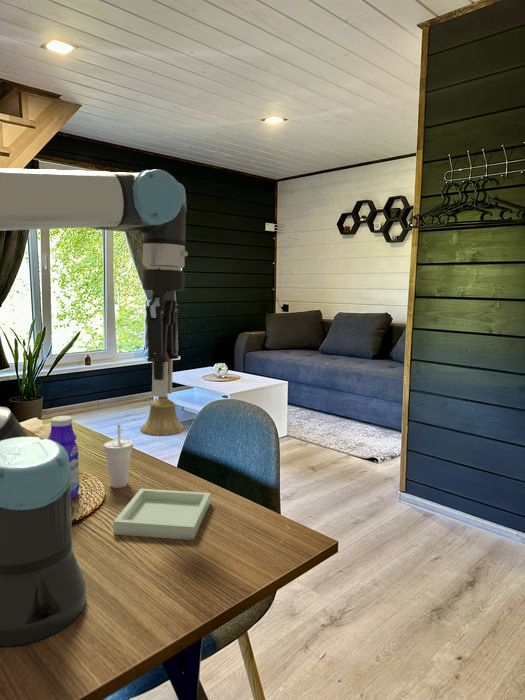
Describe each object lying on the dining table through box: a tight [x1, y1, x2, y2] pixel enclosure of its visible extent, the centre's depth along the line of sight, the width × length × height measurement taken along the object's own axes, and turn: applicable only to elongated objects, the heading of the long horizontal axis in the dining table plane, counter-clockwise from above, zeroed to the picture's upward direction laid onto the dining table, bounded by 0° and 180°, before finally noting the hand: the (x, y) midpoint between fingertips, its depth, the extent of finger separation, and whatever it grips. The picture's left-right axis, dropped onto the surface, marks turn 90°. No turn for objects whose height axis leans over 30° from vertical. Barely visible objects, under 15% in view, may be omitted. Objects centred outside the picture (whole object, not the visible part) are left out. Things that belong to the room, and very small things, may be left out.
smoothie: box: [103, 423, 134, 489], centre depth 114 cm, size 6×6×14 cm
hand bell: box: [139, 352, 185, 437], centre depth 96 cm, size 8×8×16 cm
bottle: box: [47, 415, 80, 500], centre depth 107 cm, size 7×6×17 cm
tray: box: [113, 488, 211, 541], centre depth 99 cm, size 15×15×2 cm
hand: (162, 394), depth 96 cm, fingers closed on hand bell, 2 cm apart
